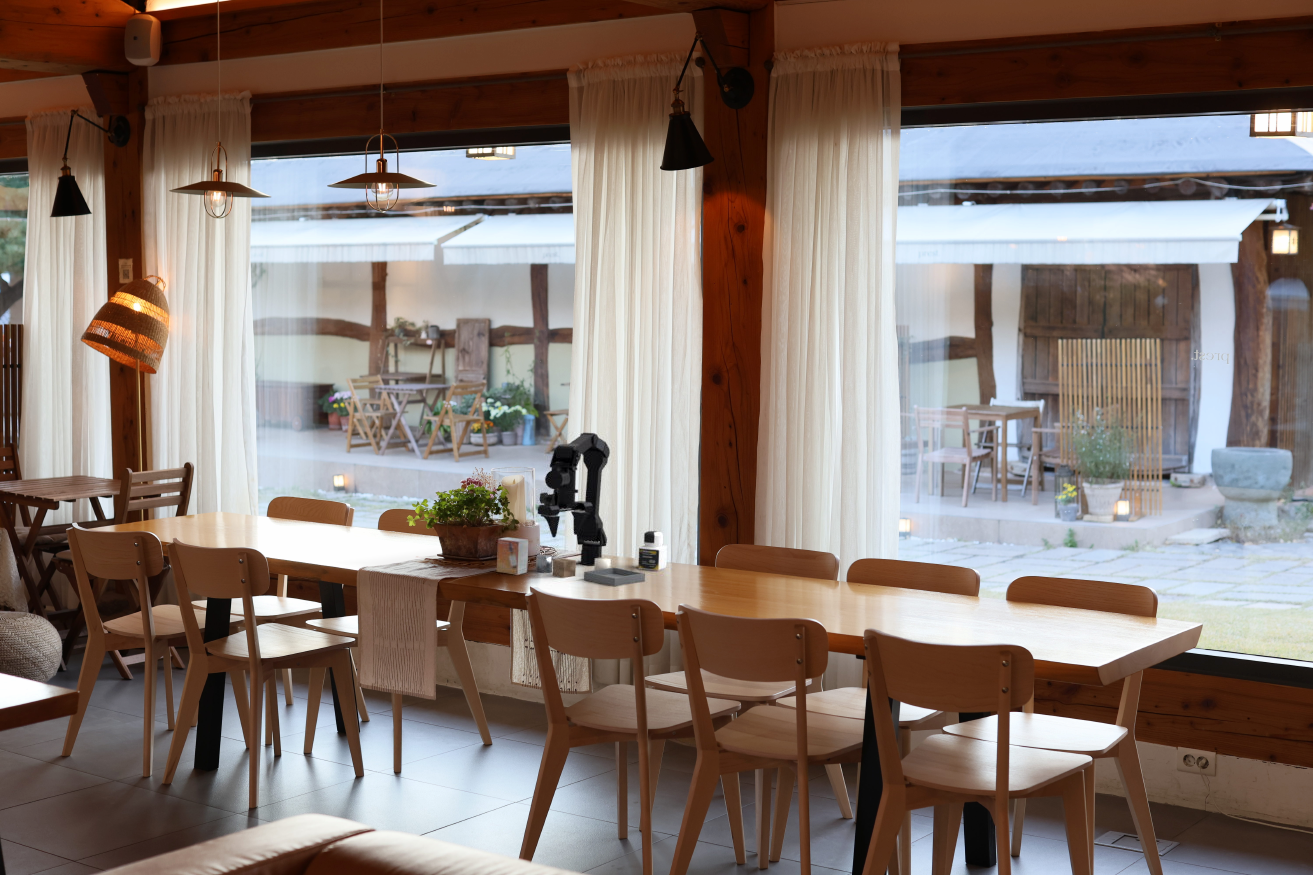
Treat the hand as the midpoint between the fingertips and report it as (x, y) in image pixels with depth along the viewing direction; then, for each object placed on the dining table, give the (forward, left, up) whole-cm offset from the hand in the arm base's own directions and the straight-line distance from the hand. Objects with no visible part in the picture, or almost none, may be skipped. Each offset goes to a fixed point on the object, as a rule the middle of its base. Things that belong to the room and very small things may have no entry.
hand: (564, 535), depth 399 cm
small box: (+9, -14, -13) cm, 21 cm away
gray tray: (-7, +15, -12) cm, 21 cm away
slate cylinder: (0, -9, -13) cm, 15 cm away
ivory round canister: (-11, +6, -13) cm, 18 cm away
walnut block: (0, 0, -13) cm, 13 cm away
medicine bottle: (-32, +8, -13) cm, 35 cm away
